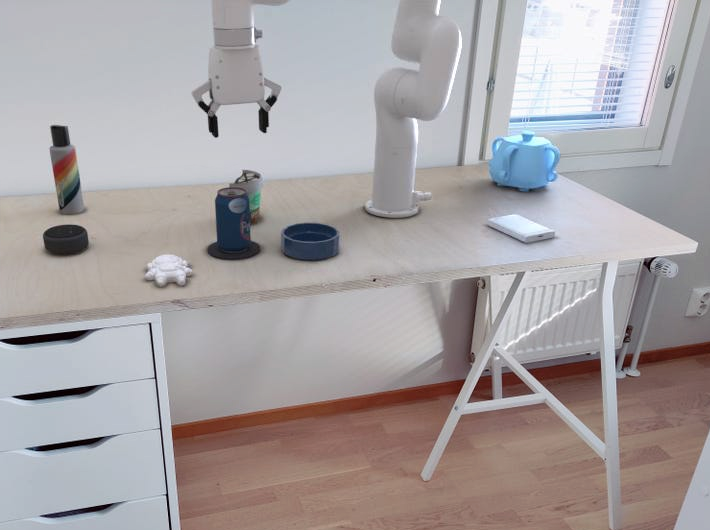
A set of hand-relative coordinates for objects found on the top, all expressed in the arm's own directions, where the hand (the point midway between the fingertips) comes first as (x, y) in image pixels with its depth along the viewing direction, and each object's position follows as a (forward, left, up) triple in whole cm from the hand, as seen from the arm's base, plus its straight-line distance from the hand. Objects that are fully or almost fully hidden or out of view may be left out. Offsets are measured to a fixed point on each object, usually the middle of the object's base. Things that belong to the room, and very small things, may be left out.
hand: (239, 133), depth 139 cm
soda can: (+3, +3, -23) cm, 23 cm away
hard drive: (-60, +11, -23) cm, 65 cm away
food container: (-5, -14, -23) cm, 28 cm away
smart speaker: (+36, -8, -23) cm, 43 cm away
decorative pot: (-80, -20, -23) cm, 86 cm away
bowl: (-12, +8, -23) cm, 27 cm away
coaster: (+3, +3, -23) cm, 23 cm away
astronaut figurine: (+18, +12, -23) cm, 31 cm away
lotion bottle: (+34, -33, -23) cm, 53 cm away
